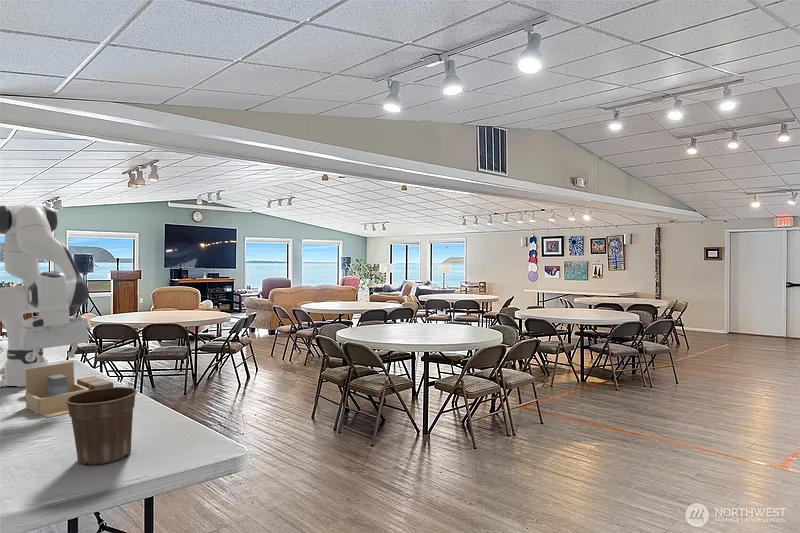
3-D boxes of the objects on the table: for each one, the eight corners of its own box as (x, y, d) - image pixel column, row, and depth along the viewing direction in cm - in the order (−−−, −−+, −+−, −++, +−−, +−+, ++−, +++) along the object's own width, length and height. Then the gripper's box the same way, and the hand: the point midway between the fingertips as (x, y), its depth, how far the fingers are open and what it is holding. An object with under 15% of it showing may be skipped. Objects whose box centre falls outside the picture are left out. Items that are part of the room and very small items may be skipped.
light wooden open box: (25, 407, 189) (23, 369, 189) (75, 397, 201) (73, 361, 200) (45, 418, 176) (44, 377, 176) (98, 406, 188) (96, 368, 188)
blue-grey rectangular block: (48, 405, 191) (47, 376, 191) (61, 402, 194) (60, 374, 194) (55, 408, 187) (53, 378, 187) (68, 405, 190) (66, 376, 190)
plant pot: (60, 457, 143) (57, 395, 143) (126, 440, 155) (124, 383, 154) (78, 475, 132) (75, 407, 131) (148, 456, 143) (146, 393, 142)
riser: (77, 395, 203) (77, 379, 202) (95, 392, 207) (94, 376, 207) (95, 403, 192) (95, 386, 192) (113, 399, 197) (113, 382, 197)
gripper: (83, 315, 199) (85, 353, 200) (16, 322, 184) (19, 363, 184) (90, 316, 195) (92, 355, 196) (23, 323, 180) (25, 366, 180)
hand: (56, 359), depth 190 cm, fingers open, 8 cm apart
